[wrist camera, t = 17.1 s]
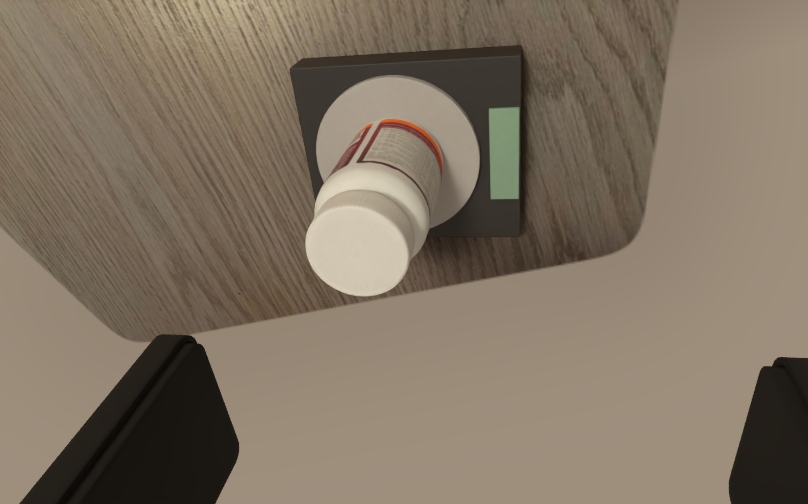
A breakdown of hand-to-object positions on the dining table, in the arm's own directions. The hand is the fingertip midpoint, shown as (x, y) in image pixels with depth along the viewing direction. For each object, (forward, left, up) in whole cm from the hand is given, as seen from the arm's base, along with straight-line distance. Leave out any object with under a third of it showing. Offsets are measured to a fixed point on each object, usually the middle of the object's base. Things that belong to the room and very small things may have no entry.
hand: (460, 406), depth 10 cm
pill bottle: (+7, +7, -27) cm, 29 cm away
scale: (+6, +7, -30) cm, 31 cm away
